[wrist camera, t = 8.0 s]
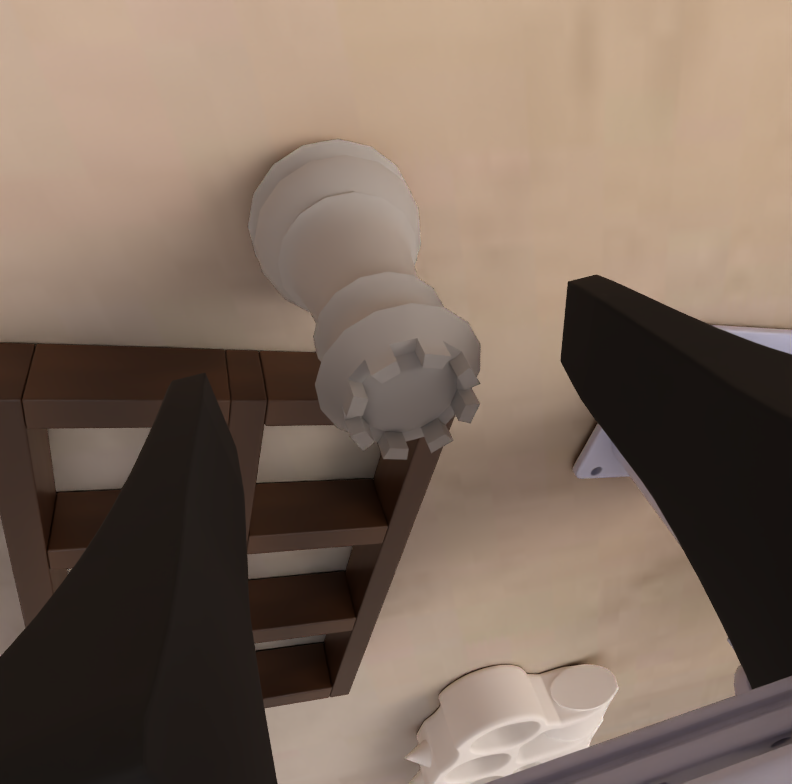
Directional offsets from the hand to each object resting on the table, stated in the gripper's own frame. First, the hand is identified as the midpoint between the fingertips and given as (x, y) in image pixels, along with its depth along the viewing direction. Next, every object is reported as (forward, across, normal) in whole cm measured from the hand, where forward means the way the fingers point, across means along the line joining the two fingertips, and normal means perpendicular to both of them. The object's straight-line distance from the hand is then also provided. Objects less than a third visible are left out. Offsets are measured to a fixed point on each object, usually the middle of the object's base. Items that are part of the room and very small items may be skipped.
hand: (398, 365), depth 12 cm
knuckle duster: (+7, -5, +40) cm, 41 cm away
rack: (+7, +7, +12) cm, 16 cm away
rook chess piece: (+7, 0, 0) cm, 7 cm away
